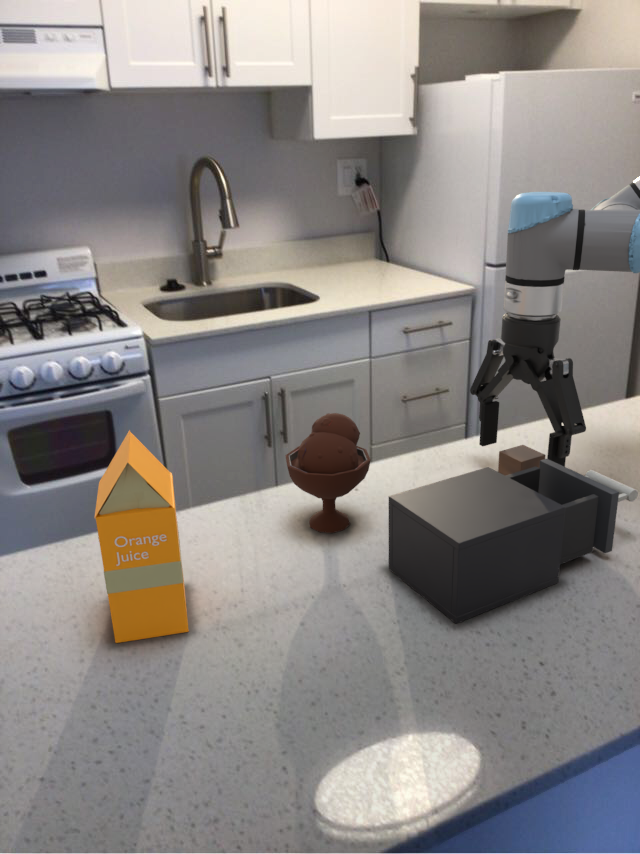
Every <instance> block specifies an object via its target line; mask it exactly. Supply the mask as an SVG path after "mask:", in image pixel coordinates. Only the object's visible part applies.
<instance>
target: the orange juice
mask: <svg viewBox="0 0 640 854" xmlns="http://www.w3.org/2000/svg"><path fill="white" fill-rule="evenodd" d="M96 495H97V496H96V503H95V509H94V518H93V519H94V520H95V522H96V530H97V538H98V542H99V548H100V554H101V562H102V567H103V575H104V576H103V577H104V582H105V588H106V594H107V598H108V605H109V611H110V618H111V623H112V630H113V636H114V643H115V644H120V643H126V642H132V641H138V640H144V639H151V638H158V637H163V636H164V637H165V636H170V635H176V634H182V633H183V634H184V633H189V632H190V630H189V620H188V619H189V618H188V609H187V608H188V607H187V597H186V596H187V595H186V586H185V577H184V570H183V568H184V567H183V561H182V553H181V552H182V550H181V539H180V530H179V522H178V515H177V506H176V498H175V488H174V476H173V473H172V471H169V469H168V468H167V467H166V466H164V465H163V463H162V462H161V461H160V460H159V459H158V458H157V457H156V456H155V455H154V454H153V453H152V451H150V450H149V449H148V448H147V447H146V446H145V445H144V444H143V443H142V442H141V441H140V440H139V439H138V437H136V435H134V434H133V433H132V432H131V429H129V430H128V432H127V433H126V435H125V436H124V438H123V440H122V442H121V444H120V445H119V447H118V448H117V450H116V452H115V454H114V456H113V457H112V459H111V461H110V463H109V465H108V466H107V468H106V470H105V472H104V473H103V475H102V476H101V478H100V480H99V482H98V488H97V494H96Z"/></svg>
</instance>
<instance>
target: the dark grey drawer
mask: <svg viewBox="0 0 640 854" xmlns="http://www.w3.org/2000/svg"><path fill="white" fill-rule="evenodd" d="M506 476H507V477H509V478H511V479H512V480H514V481H516V482H518V483H520V484H522V485H524V486H526V487H528V488H530V489H532V490H534V491H536V492H538V493H539V494H541V495H543V496H545V497H547V498H549V499H551V500H553V501H555V502H557V503H559V504H561V505H563V506H565V517H564V527H563V538H562V549H561V559H560V565H563V564H565V563H567V562H570V561H572V560H575V559H579V558H581V557H583V556H586V555H588V554H591V553H594V552H593V551H594V549H596V550H598V551H600V552H601V553H603V554H608V553H610V552H613V548H614V547H613V546H614V538H615V530H616V523H617V522H616V521H617V513H618V512H617V511H618V504H619V503H620V502H622V501H625V500H626V501H627V502H635V501H636V499H637V498H638V495H639V491H638V490H637V489H636V488H633V487H632V486H629V485H627V484H624V483H622V482H620V481H618V480H615V479H613V478H611V477H609V476H606V475H604V474H603V473H600V472H598V471H596V470H593V469H589V470H588V471H586V472H585V475H584V474H582V473H579V472H578V471H575V470H572V469H570V468H568V467H566V466H565V467H564V466H562V465H560V464H558V463H555V462H553V461H551V460H549V459H547V458H545V459H544V460H540V466H539V468H538V467H536V466H535V467H532V468H529V469H526V470H522V471H519V472H516V473H512V474H509V475H506Z"/></svg>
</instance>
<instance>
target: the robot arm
mask: <svg viewBox="0 0 640 854" xmlns="http://www.w3.org/2000/svg"><path fill="white" fill-rule="evenodd" d="M510 204H511V205H510V212H509V219H508V228H507V239H506V240H507V241H506V256H505V257H506V261H505V278H504V279H505V280H504V294H503V310H504V312H505V313H504V314H503V315H502V317H501V333H500V337H498V338H494V339H488V342H487V347H486V354H485V355H484V357H483V360H482V363H481V364H480V368H479V369H478V371H477V373H476V374H475V375H476V376H475V378H474V380H473V382H472V383H471V385H470V389H469V393H470V394H471V395H472V396H476V397H477V401H478V402H479V410H478V411H479V412H478V414H479V415H478V420H479V422H480V426H479V428H480V429H479V446H481V447H486V446H490V445H493V444H497V443H498V442H497V440H498V427H499V414H500V413H499V411H500V401H499V400H498V399H499V396H500V394H501V393H502V392H503V391H504V390H505V388H507V386H508V385H509V384H510V383H511V382H512V381H513V380H517V381H521V382H522V383H524V384H527V385H530V387H531V389H532V390H533V391H535V392H536V393H537V395H538V398H539V400H540V402H541V404H542V407H543V409H544V411H545V414H546V415H547V418H548V420H549V422H550V425H551V427H552V430H553V432H550V433H549V437H548V446H547V448H548V449H547V456H546V459H549V460H551V461H553V462H555V463H558V464H560V465H562V466H564V467H566V462H567V461H566V460H567V457H569V456H570V454H571V446H572V439H573V437H572V436H574V435H579V434H583V433H585V432H586V431H587V426H586V421H585V418H584V414H583V410H582V405H581V401H580V398H579V393H578V390H577V387H576V383H575V378H574V361H573V359H572V358H570V357H566V358H556V357H555V353H554V350H555V348H556V345H557V344H558V343H559V339H560V331H561V317H560V315H558V314H560V313H561V312H562V311H563V299H564V288H565V287H564V286H565V274H566V271H599V272H619V273H621V272H625V273H632V274H640V176H638V177H637V178H636V179H634V180H632V182H630V183H629V184H628V185H626V186H625V187H623V188H622V189H621V190H619V191H618V192H616V193H615V194H613V195H612V196H611V197H608V198H604V199H602V200H601V201H599V202H598V203H597V204H595V206H593V207H592V208H591V209H580V208H574V205H573V197H572V195H570V194H569V193H567V192H561V191H560V192H559V191H558V192H557V191H554V192H553V191H530V192H529V191H528V192H522V193H519V194H517V195H516V196H515V197H514V198H513V199H512V200H511V203H510ZM503 360H504V362H503ZM502 362H503V364H501V363H502ZM544 379H545V380H544ZM562 424H563V425H562Z"/></svg>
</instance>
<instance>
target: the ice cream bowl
mask: <svg viewBox="0 0 640 854" xmlns="http://www.w3.org/2000/svg"><path fill="white" fill-rule="evenodd" d="M360 435H361V432H360V429H359V427H358V426H357V424H356V422H354V420H353V419H351V417H349V416H347V415H345V414H343V413H339V412H338V413H337V412H332V413H329V412H327V413H326V414H323V415H322V416H320V417H319V418H317V419H316V420H315V421H314V422H313V423H312V424H311V433H309V435H308V436H307V437H306V438H305V439H304V440H302V441H301V443H300V445H298V446H296V447H295V448H294V449H293V450H291V451H289V452H288V453H286V454H285V456H284V457H285V461H286V468H287V471H288V475H289V477H290V479H291V482H292V483H293V485H295V486H296V487H297V488H299V489H300V490H301V491H302V492H305V493H307V494H309V495H311V496H313V497H315V498H317V499H321V501H322V509H321V510H319V511H317V512H315V513H313V515H311V516H310V517H309V520H308V523H309V528H310V529H312V530H314V531H316V532H318V533H328V534H333V533H339V532H341V531H345V530H346V529H347V528H348V527H349V526H351V522H350V518H349V516H348V514H347V513H345V512H342V511H340V510H339V509H337V508H336V500H337V498H342V497H344V496H346V495H348V494H349V493H350V492H351V491H353V490H354V489H355V488H357V486H359V484H360V483H362V481H364V480H365V478H366V476H367V475H368V472H369V471H370V466H371V460H372V459H371V457H370V455H369V452H368V450H367V448H363V447H361V446H359V445H358V442H359V440H360Z"/></svg>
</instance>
